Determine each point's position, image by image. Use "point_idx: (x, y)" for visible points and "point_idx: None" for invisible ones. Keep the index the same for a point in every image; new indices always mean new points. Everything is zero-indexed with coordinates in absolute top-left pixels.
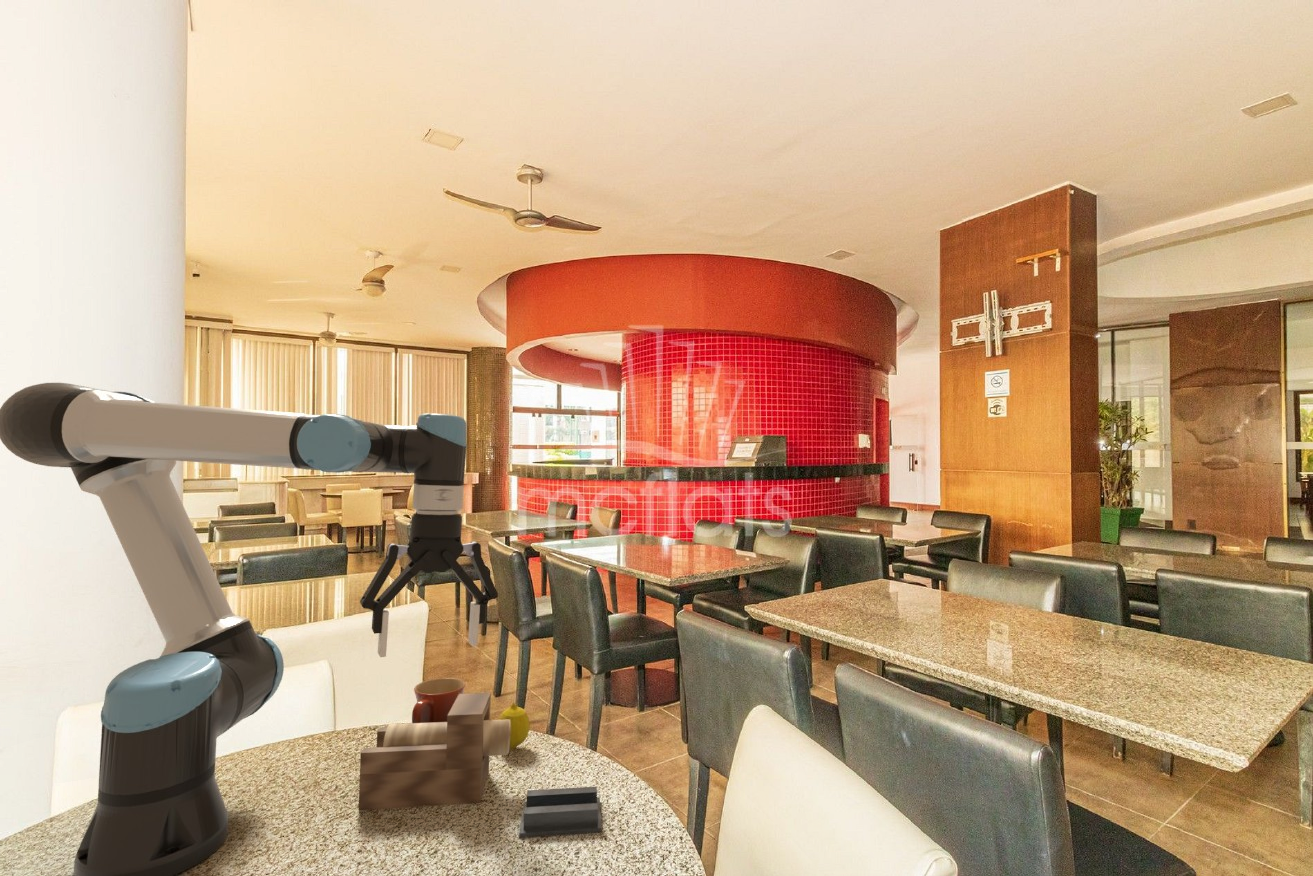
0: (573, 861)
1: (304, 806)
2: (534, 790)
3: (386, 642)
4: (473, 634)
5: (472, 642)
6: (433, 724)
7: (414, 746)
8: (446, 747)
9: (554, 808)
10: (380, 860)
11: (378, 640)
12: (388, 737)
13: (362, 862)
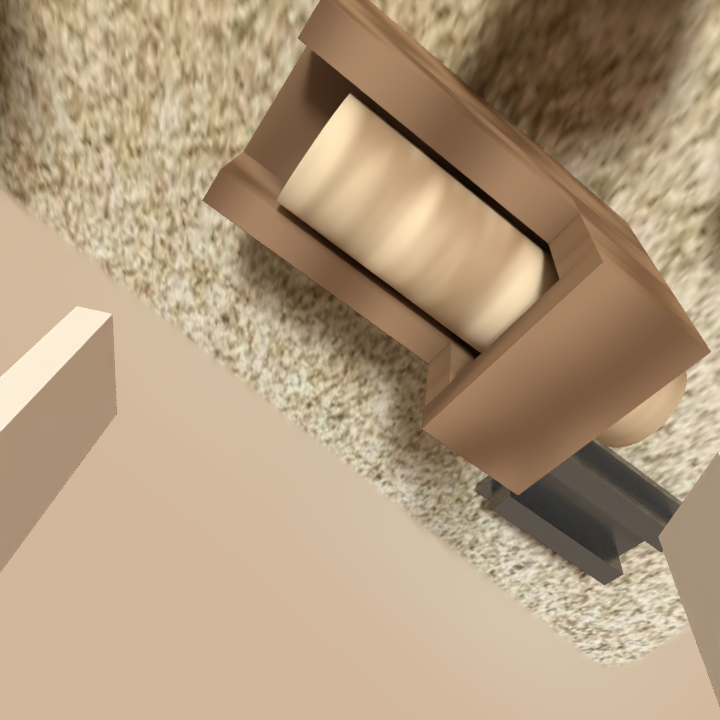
0: (498, 575)
1: (137, 10)
2: (576, 465)
3: (68, 474)
4: (686, 607)
5: (674, 545)
6: (438, 279)
7: (359, 279)
8: (432, 356)
9: (549, 534)
10: (250, 372)
11: (26, 355)
12: (290, 207)
13: (222, 355)
